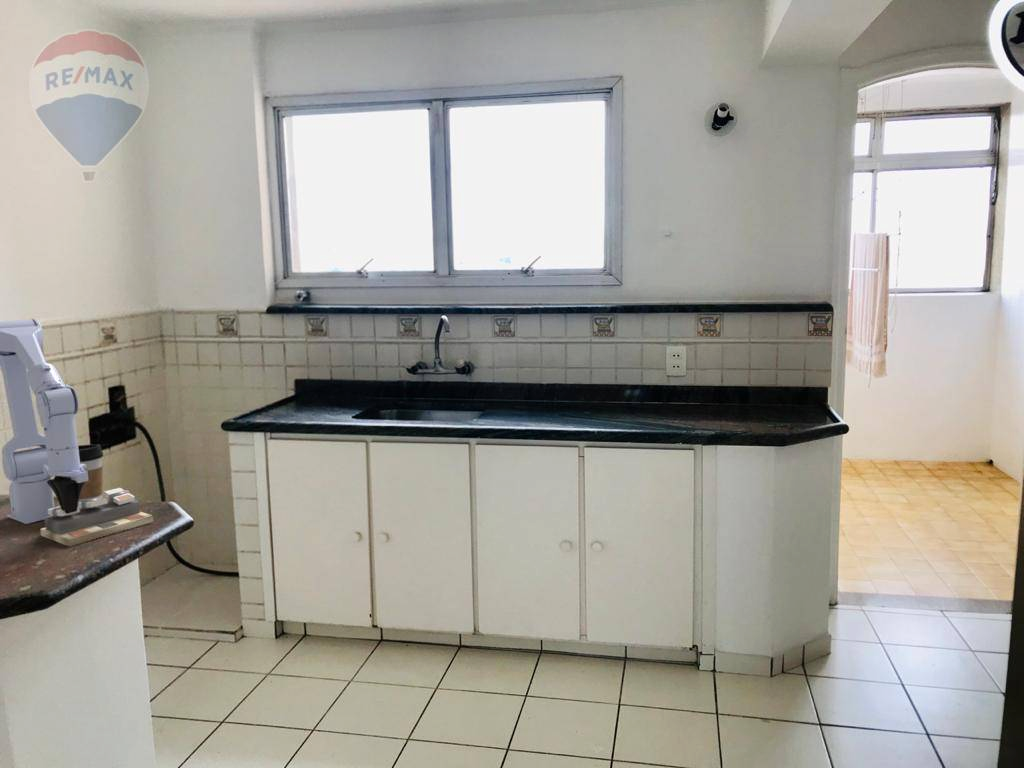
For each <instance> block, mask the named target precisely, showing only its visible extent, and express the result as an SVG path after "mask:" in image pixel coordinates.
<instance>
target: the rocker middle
mask: <svg viewBox="0 0 1024 768" xmlns="http://www.w3.org/2000/svg"><path fill="white" fill-rule="evenodd" d="M108 501H109V500H108V498H103V496H102V497H97V498H93V499H90V500H86V501H82V502H79V503H78V507H79V508H83V509H84V510H85V509H88V508H92V507H96V506H100V505H103V504H107V503H108Z"/></svg>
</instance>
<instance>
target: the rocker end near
mask: <svg viewBox="0 0 1024 768" xmlns="http://www.w3.org/2000/svg"><path fill="white" fill-rule="evenodd" d="M54 507H55V506H54ZM47 510H48V514H51V515H53V516H54V517H58V516H65V515H69V514H73V513H77V512H80V511H79V507H78V508H77V511H76V512H72V513H68V514H67V513H65V511H64V510H62V509H61V507H60V505H59V506H56V507H55V508H51V509H47Z"/></svg>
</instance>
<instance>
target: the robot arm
mask: <svg viewBox="0 0 1024 768" xmlns="http://www.w3.org/2000/svg"><path fill="white" fill-rule="evenodd" d="M43 342H44V330H43V326H42V324H41V323H40V321H39V320H38V319H36V318H31V319H24V320H22V319H19V320H5V321H0V371H1V373H2V381H3V384H4V390H5V395H6V401H7V405H8V411H9V416H10V417H9V418H10V421H11V427H12V433H13V437H12V438H11V439H10V440H9V441H7V442H6V443H5V444H4V445H3V447H1V456H2V459H1V462H2V463H1V465H2V469H3V474H4V476H5V478H6V479H8V480H9V481H11V482H10V484H9V488H8V495H9V500H10V501H9V503H10V511H11V513H9V514H7V518H9V519H12V520H14V521H18V522H20V523H23V524H25V525H29V524H32V523H36V522H40V521H45V519H44V518H45V517H49V516H53V515H51V514H48V510H47V509H51V508H55V500H54V498H55V497H56V499H57V501H58V503H59V506H60V507H61V509H62V510H64V511H65V513H67V514H68V513H72V512H76V511H77V508H78V501H79V495H80V492H81V489H82V486H83V484H84V482H85V481H88V472H87V471H85V470H84V469H83V468H86V464H80V458H79V449H78V446H79V442H78V435H77V434H78V433H77V425H76V415H77V414H78V412H79V400H78V399H79V398H78V396H77V393H76V390H75V388H74V387H73V386H71V385H69V383H68V384H67V383H66V384H65V383H64V381H63V380H62V377H61V376H60V375H61V374H59V372H58V371H57V369H56V367H55V366H54V365H53V364H51V363H48V362H46V358H45V356H44V354H43V351H42V344H43ZM31 390H32V391H31ZM32 393H33V395H34V396H35V405H36V406H35V407H36V410H37V413H38V416H39V420H40V422H39V423H40V425H41V427H42V428H43V430H44V431H43V434H44V435H43V434H41V433H39V429H38V423H37V418H36V412H35V407H34V402H33V397H32ZM31 447H36V448H31ZM25 448H30V449H25ZM19 449H24V450H19ZM17 450H19V451H17ZM54 494H55V497H54Z"/></svg>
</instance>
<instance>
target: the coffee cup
mask: <svg viewBox="0 0 1024 768" xmlns="http://www.w3.org/2000/svg"><path fill="white" fill-rule="evenodd" d="M78 449H79V458H80V464H86V468H83V469H84V470H85V471H87V472H88V481H85V482H84V484H83V486H82V489H81V492H80V495H79V501H78V503H79V502H82V501H86V500H90V499H93V498H97V497H102V498H103V494H104V491H103V484H104V483H103V479H104V478H103V475H104V474H103V470H104V467H103V466H104V465H103V464H102V462H103V460H102V458H103V457H104V452H103V450H102V447H101V444H100V443H99V444H98V443H97V444H82V445H78ZM79 509H80V508H79Z"/></svg>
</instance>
